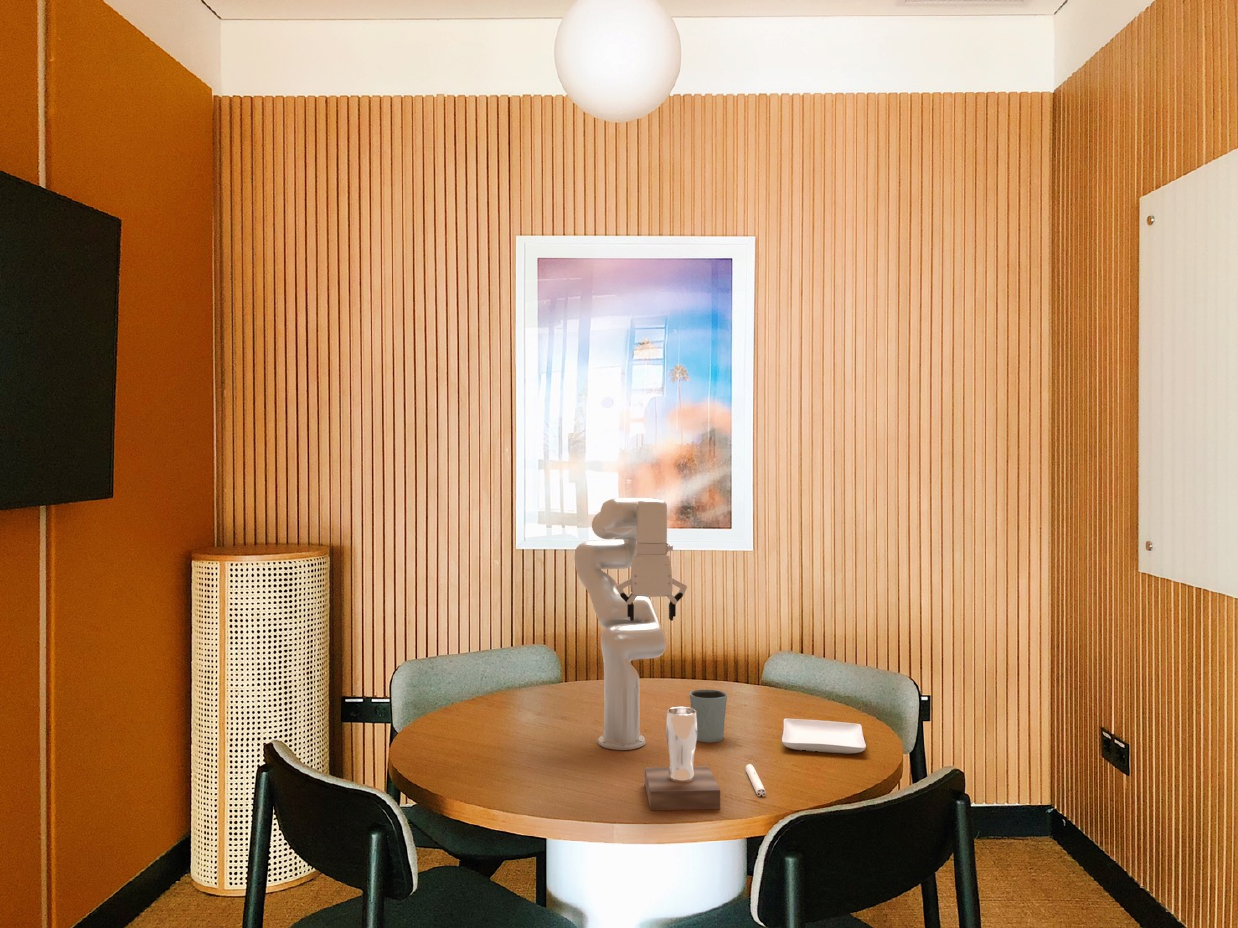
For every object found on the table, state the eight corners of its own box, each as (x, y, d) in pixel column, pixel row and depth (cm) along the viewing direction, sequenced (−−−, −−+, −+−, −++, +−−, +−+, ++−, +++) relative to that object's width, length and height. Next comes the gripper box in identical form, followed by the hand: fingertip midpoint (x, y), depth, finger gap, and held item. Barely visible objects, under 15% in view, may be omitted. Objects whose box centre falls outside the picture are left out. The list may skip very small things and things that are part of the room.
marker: (744, 769, 207) (744, 760, 207) (752, 769, 207) (752, 760, 207) (756, 797, 189) (756, 787, 189) (766, 797, 189) (766, 787, 189)
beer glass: (695, 772, 193) (695, 706, 193) (698, 783, 186) (698, 715, 186) (664, 772, 193) (665, 706, 193) (667, 783, 186) (667, 715, 186)
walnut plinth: (644, 784, 196) (644, 767, 196) (708, 783, 197) (708, 766, 197) (650, 810, 181) (650, 791, 181) (720, 808, 182) (720, 790, 182)
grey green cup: (683, 739, 230) (684, 695, 230) (698, 729, 239) (698, 687, 239) (719, 745, 225) (719, 700, 225) (732, 735, 234) (732, 691, 234)
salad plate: (866, 759, 215) (866, 746, 215) (781, 753, 219) (781, 740, 219) (861, 734, 236) (861, 722, 236) (783, 729, 240) (783, 717, 240)
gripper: (684, 548, 212) (684, 617, 212) (615, 548, 211) (615, 617, 211) (688, 551, 204) (688, 622, 204) (617, 551, 203) (617, 622, 203)
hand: (651, 619), depth 207 cm, fingers open, 9 cm apart
